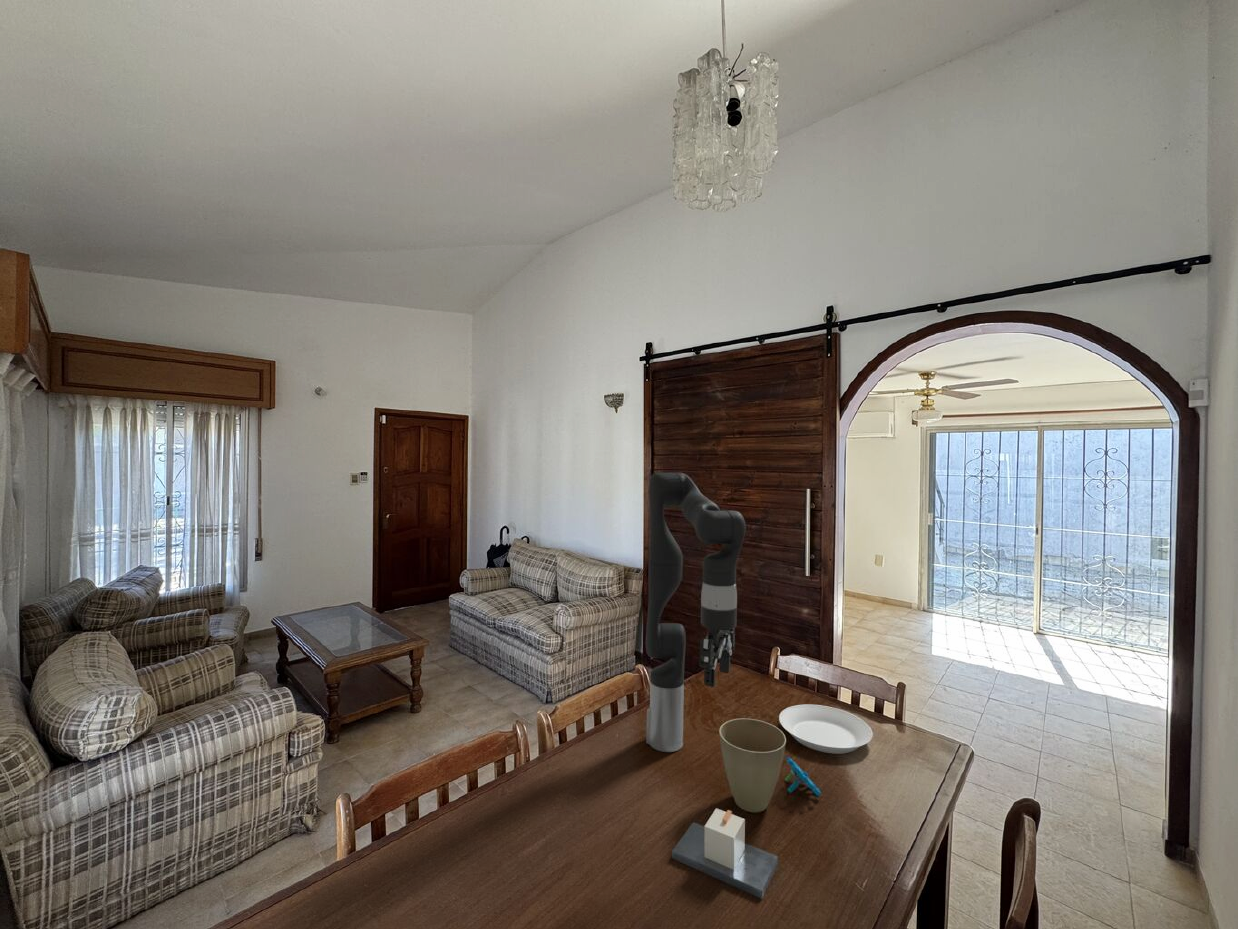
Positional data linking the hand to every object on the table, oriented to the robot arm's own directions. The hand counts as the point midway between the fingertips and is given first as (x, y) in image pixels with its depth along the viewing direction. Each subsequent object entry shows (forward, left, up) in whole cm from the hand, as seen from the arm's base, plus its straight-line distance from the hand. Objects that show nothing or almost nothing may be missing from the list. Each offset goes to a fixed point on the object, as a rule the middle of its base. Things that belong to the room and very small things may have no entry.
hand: (717, 678), depth 116 cm
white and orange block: (+6, -9, -30) cm, 32 cm away
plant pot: (+4, +12, -32) cm, 35 cm away
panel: (+6, -9, -32) cm, 33 cm away
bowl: (+12, +53, -32) cm, 63 cm away
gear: (+13, +23, -32) cm, 42 cm away
